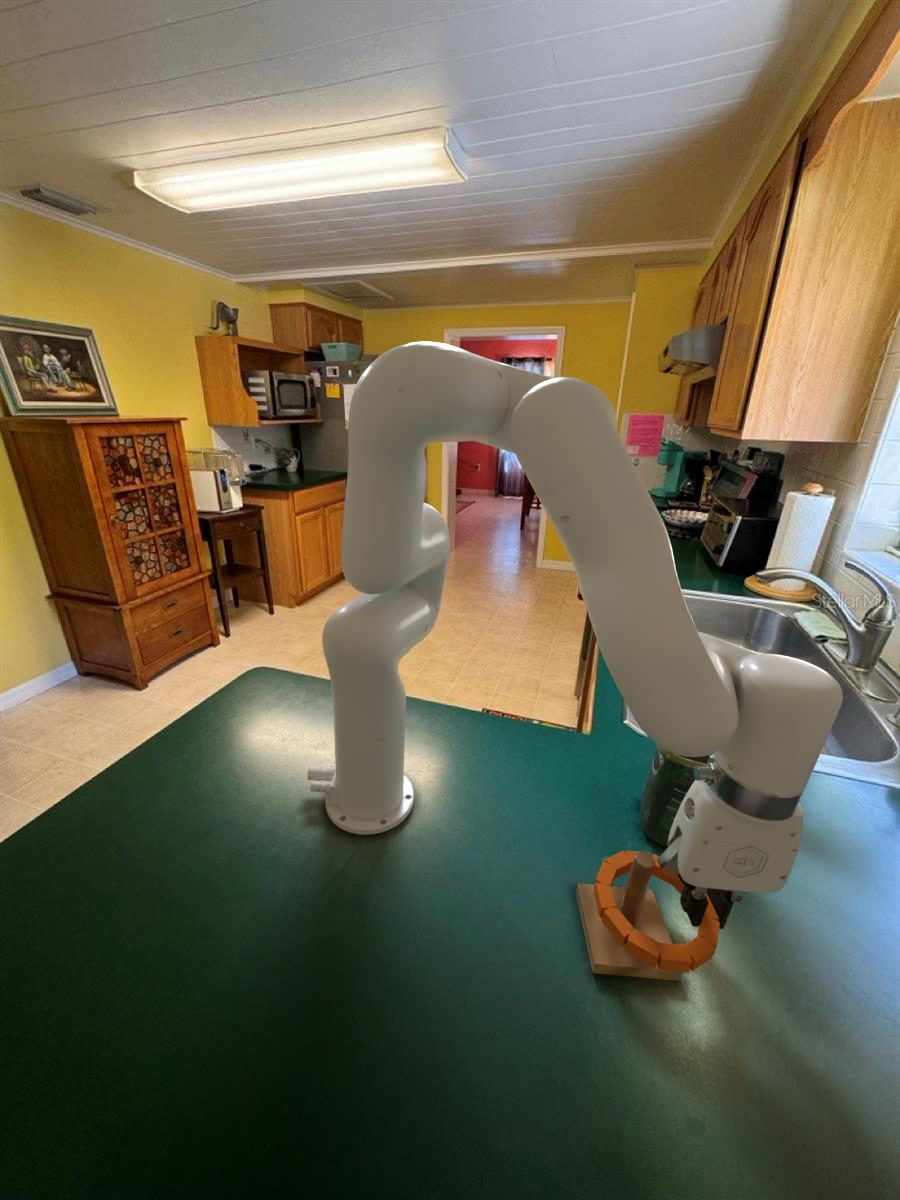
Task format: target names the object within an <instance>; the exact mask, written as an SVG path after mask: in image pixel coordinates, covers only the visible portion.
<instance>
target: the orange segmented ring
mask: <svg viewBox="0 0 900 1200" xmlns="http://www.w3.org/2000/svg"><path fill="white" fill-rule="evenodd" d="M636 852H638V851H636V850H625V851H624V850H622V851H620V852H618V853H616V854H614V855H611V856H610V857H607V858H605V859H604V861H602V863H601V866H600V868H599V871H598V873H597V875H596V878H595V882H594V884H593V885H594V897H595V901H596V905H597V909H598V914H599V917H600V918H602V920H601V921H602V923H603V924H604V925H605V927H606V928H607V929H608V930H609V932H610V933H611V934H612V936H613V937H614V938H615V939H616V941H617V942H618V943H619V945H620V946H621V947H622V946H624V945H626V947H625V951H627V952H629V953H630V954H632V955H634V956H635V957H637V958H639V959H640V960H642V961H644V962H645V963H647V964H649V965H650V966H652V967H654V968H655V967H656V964H657V965H658V968H659V970H667V971H677V972H683V973H687V974H688V973H690V971H691V972H694V971H696V970H697V969H700V967H702V966H703V965H705V964H706V963H708V962H709V961H710V960H712V958H713V957H714V955H715V953H716V950H717V948H718V942H719V934H720V929H719V927H720V922H718V920H719V918H718V916H717V913H716V911H715V909H714V907H713V905H712V903H711V901H710V899H709V897H708V895H707V893H706V897H707V899H708V906H707V909H706V911H705V914H704V917H703V918H702V920H701V923H700V925H699V927H698V931H697V936H695V937H694V938H693V939H691V940H689V941H688V942H686V943H685V944H676V943H672V944H668V943H659V942H657V941H656V940H654V939H652V938H650V937H649V936H647V935H645V934H643V933H642V932H640V931H638V930H636V929H635V928H633V926H632V925H631V924H630V923H629V922H628V920H627V919H626V918H625V917H624V915H623V914H622V913H621V912H620V911H619V909H618V908H617V907H616V904H615V900H614V896H613V893H612V889H611V886H613V884H614V880H615V879H618V878H619V877H623V876H624V875H625V874H628V873H630V871H631V867H632V864H633V860H634V857H635V854H636ZM646 852H647V853H649V854H650V855H652V856H653V858H654V860H655V867H654V870H653V873H652V876H653V877H656V878H657V879H659V880H660V881H662V882H665V883H667V884H669V885H671V886H673V888H674V889H675V890H676V891H677V892H678V893H679V894H680V895H681V894H682V891H683V888H684V884H683V883H682V882H681V881H680V879H679V878H674V877H671V876H669V875H666V874H664V873H662V871H661V869H660V867H659V864H658V862H657V859H658V858H659V857H660V856H659V855H657V854H655V853H653V854H651V852H649V851H646Z"/></svg>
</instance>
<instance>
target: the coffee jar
mask: <svg viewBox="0 0 900 1200" xmlns="http://www.w3.org/2000/svg"><path fill="white" fill-rule="evenodd" d="M655 749H656V750H655V752H654V756H653V759H652V761H651V762H652V763H651V766H650V769H649V773H648V776H647V780H646V783H645V786H644V788H643V793H642V796H641V799H640V806H639V816H640V823H641V827H642V830H643V832H644V834H645V835H646V836H647V837H648V838H649V839H651V840H652V841H653V842H655V843H657V844H658V845H660V846H663V847H665V848H666V849H667V848H668V837H669V833H670V830H671V827H672V824H673V822H674V819H675V816H676V814H677V812H678V809H679V807H680V805H681V803H682V801H683V799H684V797H685V796H686V794H687V792H688V790H689V789H690V787H691V786H692V784H693V783H694V781H695V780H696V779H695V777H694V768H695V766H701V767H702V766H703V765H706V764H707V761H708V758H709V755H707V756H701V757H686V756H681V755H677V754H674V753H672V752H670V751H667V750H665V749H664V748H662V747H660V746H659V745H657V744H656V748H655ZM710 755H711V754H710Z"/></svg>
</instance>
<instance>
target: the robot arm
mask: <svg viewBox="0 0 900 1200" xmlns="http://www.w3.org/2000/svg"><path fill="white" fill-rule="evenodd" d="M347 421H348V422H347V424H348V425H347V426H348V427H347V429H348V431H347V437H348V438H347V440H348V441H347V443H348V457H347V458H348V460H347V461H348V465H347V478H346V485H345V495H344V507H343V520H342V531H341V543H340V544H341V545H340V564H341V571H342V574H343V577H344V578H345V580H346V582H347V583H348V584H349V585H350V587H352V588H353V589H354V590H356V592H360V593H362V594H360V595H358V596H357V597H354V598H352V599H351V600H349V601H347V602H346V603H344V604H342V605H341V606H340V607H338V608H337V609H336V610H334V612H333V613H332V614H330V616H329V617H328V619H327V620H326V622H325V624H324V626H323V628H322V629H323V630H322V633H321V646H322V650H323V655H324V658H325V662H326V666H327V669H328V673H329V680H330V687H331V697H332V715H333V731H334V732H333V734H334V735H333V736H334V737H333V738H334V761H335V763H334V765H332V766H330V768H329V767H323V766H316V765H315V766H313V765H311V766H309V768H308V770H307V775H306V776H307V780H308V781H312V782H311V784H310V792H313V793H314V792H315V793H325V794H326V795H325V810H326V814H327V816H328V817H329V819H330V820H331V821H332V823H333V824H334V825H335V826H337V827H338V828H339V829H341V830H343V831H345V832H347V833H351V834H355V835H362V836H363V835H364V836H367V835H368V836H369V835H376V834H380V833H384V832H387V831H389V830H391V829H392V830H393V828H395V827H397V826H399V825H400V824H401V823H402V822H403V821H404V820H406V818H407V817H408V815H409V814H410V813H411V811H412V809H413V806H414V801H415V791H414V786H413V783H412V781H411V779H409V777H408V776H407V775H406V774H405V745H406V743H405V741H406V714H407V713H406V710H407V709H406V708H407V706H406V705H407V704H406V703H407V696H406V689H405V684H404V682H403V680H402V678H401V675H400V672H399V665H400V663H401V660H402V659H403V657H405V656H406V655H407V654H408V653H409V652H410V651H411V650H412V649H414V648H415V647H416V646H417V645H418V644H419V643H420V642H422V641H423V640H424V639H425V638H427V637H428V635H430V633H431V632H432V631H433V629H434V628H435V625H436V623H437V621H438V618H439V614H440V609H441V604H442V599H443V594H444V589H445V588H444V587H445V583H446V577H447V572H448V567H449V562H450V561H449V560H450V555H451V536H450V531H449V527H448V525H447V522H446V520H445V518H444V517H443V515H442V514H441V513H440V512H439V510H437V509H436V508H435V507H433V505H430V504H428V503H426V502H425V497H426V492H427V486H428V467H427V459H426V456H425V449H426V447H427V446H429V445H431V444H436V443H437V444H438V443H461V442H475V443H476V442H477V443H479V444H484V445H486V446H490V447H493V448H497V449H500V450H502V451H505V452H508V453H511V454H515V456H516V458H517V460H518V462H519V464H520V466H521V469H522V470H523V472H524V475H525V476H526V478H527V480H528V481H529V482H528V483H530V486H531V487H532V489H533V491H534V493H535V495H536V498H537V499H538V500H539V502H540V504H541V506H542V508H543V510H544V512H545V514H546V516H547V517H548V520H549V521H550V523H551V525H552V528H553V529H554V531H555V533H556V535H557V537H558V539H559V541H560V543H561V544H562V547H563V548H564V551H565V552H566V554H567V556H568V558H569V560H570V562H571V564H572V566H573V569H574V572H575V575H576V578H577V583H578V588H579V591H580V594H581V597H582V600H583V603H584V605H585V609H586V611H587V615H588V617H589V621H590V623H591V626H592V630H593V633H594V635H595V638H596V641H597V644H598V648H599V650H600V652H601V655H602V657H603V660H604V662H605V664H606V667H607V669H608V671H609V672H610V675H611V677H612V679H613V681H614V683H615V685H616V687H617V689H618V690H619V692H620V695H621V697H622V698H623V700H624V702H625V704H626V705H627V707H628V709H629V711H630V713H631V715H632V716H633V718H634V721H635V722H636V723H637V725H638V726H639V728H640V729H641V730H642V732H643V733H645V735H646V736H647V737H648V738H649V739H650V740H651V741H652V742H654V743H655V744H656V746H657V745H659V746H660V747H662V748H664V749H665V750H667V751H670V752H672V753H674V754H677V755H681V756H686V757H701V756H707V755H709V758H708V761H707V764H706V765H703V766H702V767H701V766H695V768H694V777H695V779H696V780H695V781H694V783H693V784H692V786H691V787H690V789H689V790H688V792H687V794H686V796H685V797H684V799H683V801H682V803H681V805H680V807H679V809H678V812H677V814H676V816H675V819H674V822H673V824H672V827H671V830H670V833H669V837H668V848H667V847H666V849H665V850H664V851H663V853H661V854H660V856H659V858H658V859H657V862H658V864H659V867H660V869H661V871H662V873H664V874H666V875H669V876H671V877H674V878H679V879H680V881H681V882H682V883H683V884H684V888H683V891H682V894H680V897H679V902H680V906H681V908H682V910H683V912H684V913H686V915H687V917H688V920H689V923H690V924H691V926H692V927H695V928H699V925H700V923H701V920H702V918H703V917H704V914H705V911H706V909H707V906H708V899H707V897H706V893H707V895H708V897H709V899H710V901H711V903H712V905H713V907H714V909H715V911H716V913H717V916H718V918H719V920H718V922H720V927H719V930H723V929H724V928H725V927H726V923H727V921H728V919H729V916H730V914H731V911H732V909H733V906H734V904H739V903H741V902H743V901H744V899H745V897H746V895H747V893H760V894H761V893H762V894H770V893H777V892H780V891H781V890H783V888H784V887H785V886H786V883H788V880H789V877H790V875H791V873H792V871H793V867H794V865H795V861H796V858H797V855H798V852H799V849H800V848H799V847H800V844H801V839H802V833H803V821H804V809H803V807H802V805H801V804H800V803H801V799H802V797H803V795H804V792H805V791H806V788H807V785H808V784H809V781H810V779H811V776H812V774H813V771H814V769H815V767H816V765H817V762H818V760H819V757H820V755H821V753H822V751H823V748H824V746H825V744H826V742H827V739H828V738H829V735H830V732H831V731H832V728H833V725H834V723H835V721H836V719H837V717H838V715H839V711H840V709H841V706H842V704H843V699H844V696H843V695H844V694H843V689H842V687H841V685H840V683H839V682H838V681H837V680H836V679H835V677H833V676H832V675H831V674H830V673H829V672H828V671H826V670H824V669H822V668H821V667H819V666H817V665H815V664H812V663H811V662H807V661H805V660H802V659H799V658H795V657H791V656H787V655H781V654H774V653H761V652H757V651H755V650H751V649H748V648H745V647H743V646H740V645H737V644H734V643H731V642H729V641H727V640H724V639H721V638H719V637H716V636H713V635H710V634H707V633H704V632H701V631H698V629H697V627H696V625H695V623H694V620H693V617H692V615H691V612H690V610H689V608H688V605H687V602H686V599H685V597H684V593H683V590H682V587H681V584H680V581H679V577H678V573H677V569H676V564H675V563H676V562H675V558H674V557H675V556H674V553H673V547H672V543H671V539H670V536H669V534H668V531H667V528H666V524H665V522H664V520H663V517H662V516H661V514H660V512H659V510H658V507H656V505H655V502H654V501H653V498H652V497H651V495H650V492H649V491H648V490H647V487H646V485H645V483H644V481H643V480H642V477H641V476H640V474H639V471H638V470H637V468H636V466H635V464H634V462H633V460H632V458H631V456H630V453H629V452H628V450H627V447H626V444H625V443H624V440H623V439H622V437H621V434H620V433H619V431H618V418H617V412H616V410H615V406H614V404H613V403H612V401H611V399H610V398H609V396H608V395H607V394H606V393H605V392H604V391H603V390H601V389H600V388H599V387H598V386H595V385H593V384H590V383H589V382H587V381H585V380H582V379H580V378H578V377H570V376H560V377H559V376H558V377H553V376H549V375H545V374H543V373H540V372H539V373H538V372H535V371H532V370H527V369H524V368H520V367H517V366H513V365H510V364H506V363H502V362H500V361H497V360H493V359H491V358H490V359H489V358H487V357H484V356H482V355H479V354H476V353H473V352H470V351H468V350H466V349H463V348H460V347H457V346H455V345H450V344H447V343H443V342H435V341H414V342H408V343H405V344H401V345H398V346H396V347H393V348H390V349H389V350H387V351H385V352H384V353H382V354H381V355H379V356H378V357H376V358H375V359H374V360H373V361H372V362H371V363H370V364H369V365H368V366H367V367H366V369H365V370H364V371H363V372H362V374H361V375H360V377H359V378H358V380H357V383H356V384H355V387H354V389H353V392H352V396H351V399H350V403H349V410H348V420H347ZM710 754H711V755H710ZM322 781H323V782H322ZM324 781H325V782H324Z"/></svg>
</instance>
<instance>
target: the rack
mask: <svg viewBox="0 0 900 1200" xmlns="http://www.w3.org/2000/svg"><path fill="white" fill-rule="evenodd" d="M647 852H648V851H645V850H638V851H637V852H636V854H635V857H634V860H633V864H632V867H631V871H630V872H629V875H628V877H627V881H626V886H615V885H612V886H611V889H612V893H613V896H614V900H615V904H616V907H617V908H618V909H619V911H620V912H621V913H622V914H623V915H624V917H625V918H626V919H627V920H628V922H629V923H630V924H631V925H632V926H633V928H635V929H636V930H638V931H640V932H642V933H643V934H645V935H647V936H649V937H650V938H652V939H654V940H656V941H657V942H659V943H668V944H673V942H672V939H671V936H670V934H669V930H668V927H667V925H666V922H665V920H664V917H663V914H662V911H661V910H660V906H659V904H658V901H657V899H656V896H655V893H654V890H653V889H649V886H650V883H651V881H652V876H653V875H652V873H653V870H654V867H655V860H654V858H653V854H651V853H650V852H648V853H647ZM649 853H650V854H651V855H650V854H649ZM594 885H595V884H591V883H581V882H580V883H579V882H577V884H576V887H575V888H576V889H575V896H576V900H577V906H578V910H579V915H580V920H581V924H582V928H583V929H582V930H583V933H584V937H585V943H586V944H585V945H586V947H587V948H586V949H587V952H588V957H589V963H590V969H591V972H592V973H593V974H600V975H610V976H611V975H612V976H622V977H633V978H643V979H653V980H664V981H665V980H667V981H675V982H679V981H680V980H681V978H682V977H683V974H684V972H677V971H667V970H659V968H658V965H657V964H656V967H655V968H654V967H652V966H650V965H649V964H647V963H645V962H644V961H642V960H640V959H639V958H637V957H635V956H634V955H632V954H630V953H629V952H627V951H625V947H626V945H624V946H622V947H621V946H620V945H619V943H618V942H617V941H616V939H615V938H614V937H613V936H612V934H611V933H610V932H609V930H608V929H607V928H606V927H605V925H604V924H603V923H602V921H601V920H602V918H600V917H599V914H598V909H597V905H596V901H595V897H594Z"/></svg>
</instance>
